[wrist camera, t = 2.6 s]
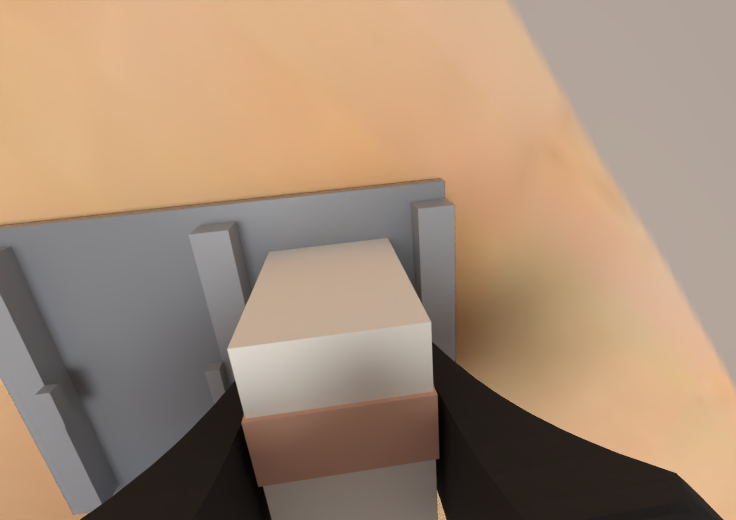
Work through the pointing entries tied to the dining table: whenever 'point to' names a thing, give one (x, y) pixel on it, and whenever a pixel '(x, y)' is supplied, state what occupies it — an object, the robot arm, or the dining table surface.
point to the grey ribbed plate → (174, 313)
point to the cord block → (338, 386)
